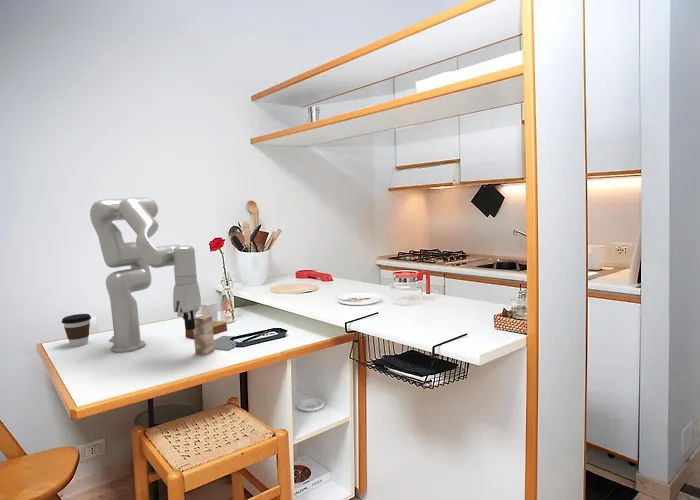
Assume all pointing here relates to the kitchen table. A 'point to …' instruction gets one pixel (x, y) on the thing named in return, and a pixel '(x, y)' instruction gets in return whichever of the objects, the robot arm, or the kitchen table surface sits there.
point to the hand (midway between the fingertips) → (190, 329)
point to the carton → (217, 328)
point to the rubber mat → (223, 343)
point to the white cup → (210, 309)
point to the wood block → (203, 335)
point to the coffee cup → (77, 328)
